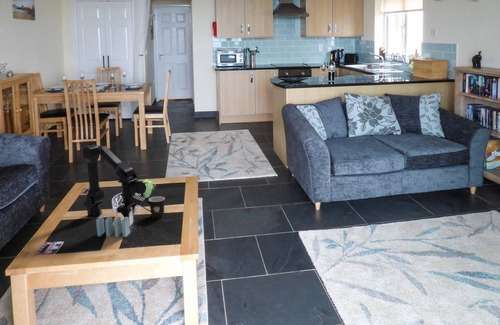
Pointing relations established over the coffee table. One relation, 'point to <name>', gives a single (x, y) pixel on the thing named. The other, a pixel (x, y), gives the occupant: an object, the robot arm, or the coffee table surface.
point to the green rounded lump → (148, 187)
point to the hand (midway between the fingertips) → (129, 219)
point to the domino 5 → (131, 217)
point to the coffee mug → (156, 206)
